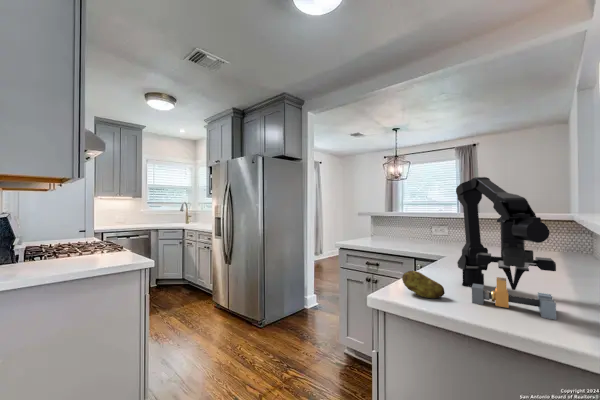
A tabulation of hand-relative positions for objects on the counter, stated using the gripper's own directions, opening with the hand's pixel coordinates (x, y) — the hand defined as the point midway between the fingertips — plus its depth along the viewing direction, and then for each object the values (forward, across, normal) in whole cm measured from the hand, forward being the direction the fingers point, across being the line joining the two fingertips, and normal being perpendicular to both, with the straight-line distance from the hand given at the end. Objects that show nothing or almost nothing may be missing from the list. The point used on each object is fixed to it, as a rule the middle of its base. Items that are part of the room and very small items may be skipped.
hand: (513, 289), depth 83 cm
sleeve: (+5, -3, 0) cm, 6 cm away
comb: (+5, +7, 0) cm, 9 cm away
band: (+5, -5, 0) cm, 7 cm away
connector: (+5, -9, 0) cm, 11 cm away
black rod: (+4, -1, 0) cm, 4 cm away
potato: (+6, -25, -4) cm, 26 cm away
